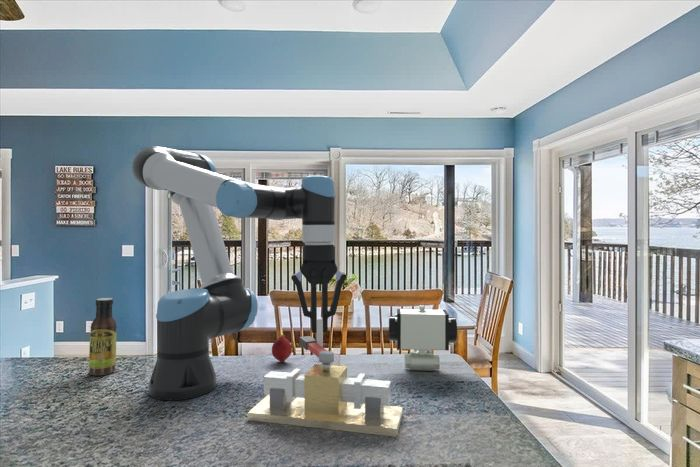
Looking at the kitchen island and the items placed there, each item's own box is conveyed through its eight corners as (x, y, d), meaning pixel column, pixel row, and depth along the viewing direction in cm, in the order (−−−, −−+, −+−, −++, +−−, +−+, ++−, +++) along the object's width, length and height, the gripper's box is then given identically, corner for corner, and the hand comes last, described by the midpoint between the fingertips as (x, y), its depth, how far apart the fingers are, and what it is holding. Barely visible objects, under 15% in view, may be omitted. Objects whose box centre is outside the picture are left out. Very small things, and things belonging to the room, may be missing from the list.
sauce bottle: (85, 377, 109) (85, 301, 109) (93, 370, 115) (93, 297, 115) (112, 375, 111) (112, 300, 111) (119, 368, 117) (119, 296, 117)
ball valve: (452, 365, 120) (452, 303, 119) (457, 375, 111) (457, 308, 111) (389, 363, 121) (389, 301, 121) (388, 373, 113) (388, 307, 113)
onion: (282, 366, 118) (282, 338, 118) (267, 363, 122) (267, 335, 122) (295, 361, 123) (295, 333, 123) (281, 358, 126) (281, 331, 126)
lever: (336, 362, 85) (336, 353, 85) (322, 364, 84) (322, 355, 84) (310, 343, 100) (310, 335, 100) (298, 344, 99) (298, 337, 99)
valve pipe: (247, 420, 85) (247, 364, 85) (268, 400, 94) (268, 350, 94) (396, 436, 78) (396, 376, 78) (402, 414, 87) (402, 360, 87)
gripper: (344, 243, 101) (345, 341, 101) (290, 243, 100) (291, 343, 100) (348, 244, 94) (349, 349, 94) (290, 244, 92) (291, 352, 92)
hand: (319, 346), depth 97 cm, fingers closed
